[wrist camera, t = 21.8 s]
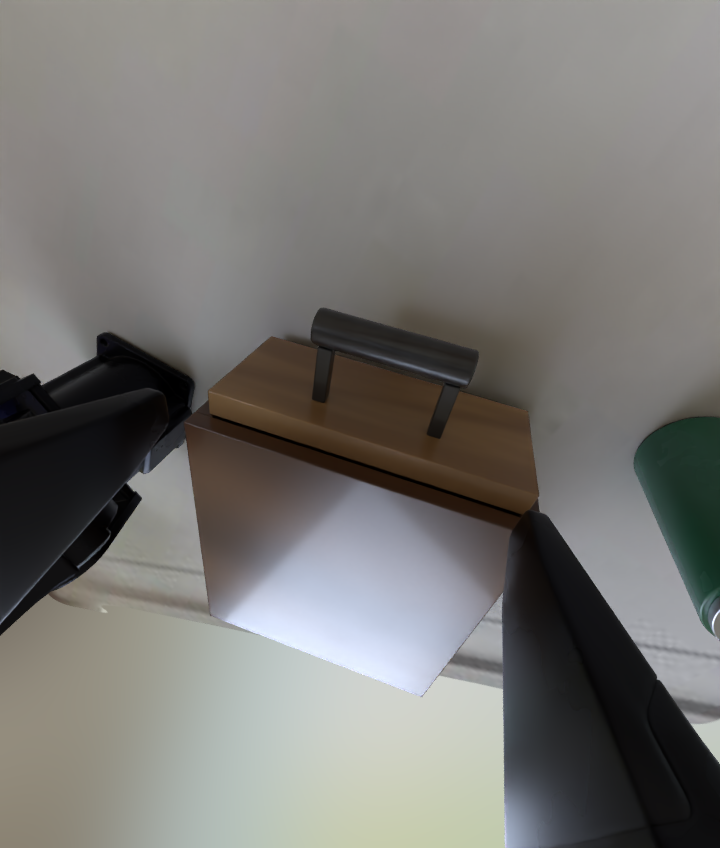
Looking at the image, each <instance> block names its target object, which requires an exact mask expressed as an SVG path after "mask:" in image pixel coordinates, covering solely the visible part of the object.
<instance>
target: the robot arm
mask: <svg viewBox="0 0 720 848" xmlns="http://www.w3.org/2000/svg"><path fill="white" fill-rule="evenodd" d="M40 383H41V382H40V380H39V379H38V378H37V377H36V376H35V375H34V373H33V374H31V375H29V376H26V377H24V378H22V379H20V378H19V377H18V376H15V375H13V374H11V373H9V372H7V371H4V370H1V371H0V635H1V634H2V633H3V632H5V631H6V630H7V629H8V628H9V627H10V626H11V625H12V624H13V623H14V622H15V621H16V620H18V619H19V618H20V617H21V616H22V615H23V614H24V613H25V612H26V611H28V610H29V609H30V608H31V607H32V606H33V605H34V604H35V603H37V602H38V601H39V600H40V599H42V598H43V597H44V596H46V595H47V594H48V593H49V592H51V591H54V590H57V589H59V588H61V587H63V586H65V585H67V584H69V583H70V582H72V581H73V580H75V579H76V578H78V577H79V576H80V575H82V574H83V573H84V572H86V571H87V570H88V569H89V568H90V567H91V566H93V565H94V564H95V563H96V562H97V561H98V560H99V559H100V558H101V557H102V555H103V554H104V553H105V552H106V550H107V549H108V548H109V546H110V545H111V543H112V542H113V540H114V539H115V537H116V536H117V534H118V533H119V532H120V530H121V529H122V527H123V526H124V524H125V523H126V521H127V520H128V518H129V517H130V516H131V514H132V513H133V511H134V510H135V508H136V507H137V505H138V504H139V503H140V501H141V500H142V498H141V496H140V495H139V494H138V493H137V492H136V491H135V492H134V491H133V490H132V489H131V488H130V486H129V485H128V484H127V482H128V481H129V480H130V479H131V478H132V477H133V476H134V475H136V474H137V473H138V472H141V473H143V474H146V473H149V472H150V471H151V470H152V469H153V468H155V467H156V466H157V465H158V464H159V463H160V462H161V461H162V460H163V459H164V458H165V457H166V456H167V455H168V454H169V453H170V452H171V451H172V450H173V449H174V448H179V447H180V446H181V445H182V444H183V442H184V439H185V438H186V434H185V427H184V421H186V420H187V419H188V418H189V417H190V416H191V415H192V412H191V409H190V407H191V402H192V397H193V392H194V387H195V385H194V382H193V381H192V379H190V378H189V377H187V376H186V375H184V374H182V373H180V372H178V371H177V370H175V369H173V368H171V367H169V366H167V365H166V364H164V363H162V362H160V361H158V360H157V359H155V358H153V357H151V356H149V355H147V354H146V353H144V352H142V351H140V350H138V349H137V348H135V347H133V346H131V345H129V344H127V343H126V342H124V341H122V340H120V339H118V338H117V337H115V336H113V335H111V334H109V333H107V332H104V333H102V334H100V335H98V336H97V356H96V357H94V358H92V359H91V360H89V361H87V362H85V363H83V364H81V365H79V366H77V367H76V368H74V369H72V370H70V371H68V372H66V373H64V374H62V375H61V376H59V377H57V378H55V379H53V380H51V381H49V382H47V383H45V384H44V385H42V386H41V385H40ZM185 384H186V385H187V386H186V385H185ZM502 636H503V717H504V718H503V720H504V794H505V795H504V803H505V848H720V764H719V762H718V761H717V760H716V758H715V757H714V756H713V754H712V753H711V752H710V750H709V749H708V748H707V746H706V745H705V744H704V743H703V741H702V740H701V738H700V737H699V736H698V734H697V733H696V731H695V730H694V728H693V727H692V726H691V724H690V723H689V721H688V720H687V718H686V717H685V716H684V714H683V713H682V711H681V710H680V709H679V707H678V706H677V704H676V703H675V701H674V700H673V698H672V697H671V696H670V694H669V693H668V691H667V690H666V688H665V687H664V685H663V684H662V682H661V681H660V680H656V679H657V675H656V674H655V672H654V671H653V669H652V668H651V666H650V665H649V664H648V662H647V661H646V659H645V658H644V656H643V655H642V653H641V652H640V650H639V649H638V647H637V646H636V644H635V643H634V642H633V640H632V639H631V637H630V636H629V634H628V633H627V631H626V630H625V628H624V627H623V625H622V624H621V622H620V621H619V620H618V618H617V617H616V615H615V614H614V612H613V611H612V609H611V608H610V606H609V605H608V603H607V602H606V600H605V599H604V598H603V596H602V595H601V593H600V592H599V590H598V589H597V587H596V586H595V584H594V583H593V581H592V580H591V578H590V577H589V576H588V574H587V573H586V571H585V570H584V568H583V567H582V565H581V564H580V562H579V561H578V559H577V558H576V557H575V555H574V554H573V552H572V551H571V549H570V548H569V546H568V545H567V543H566V542H565V540H564V539H563V537H562V536H561V535H560V533H559V532H558V530H557V529H556V527H555V526H554V524H553V523H552V521H551V520H550V518H549V517H548V516H547V515H545V514H543V513H540V512H537V511H533V510H527V511H525V513H524V514H523V515H522V517H521V518H520V520H519V521H518V523H517V524H516V526H515V527H514V529H513V530H512V532H511V535H510V538H509V545H508V554H507V563H506V573H505V582H504V591H503V602H502Z"/></svg>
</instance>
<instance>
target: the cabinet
mask: <svg viewBox="0 0 720 848" xmlns="http://www.w3.org/2000/svg"><path fill="white" fill-rule="evenodd" d="M241 426H242V424H240V423H237V422H234V421H231V420H228V419H225V418H222V417H219V416H216V415H212V414H210V410H209V400H208V401H207V402H206V403H205V404H204V405H202V406H201V407H200V408H199V409H198V410H197V411H196V412H194V413H193V414H192V415H191V416H190V417H189V418H188V419H187V420H186V421H184V427H185V434H186V441H187V449H188V456H189V463H190V471H191V478H192V485H193V493H194V500H195V508H196V515H197V522H198V530H199V537H200V544H201V552H202V559H203V566H204V574H205V581H206V588H207V596H208V603H209V610H210V616H213V617H215V618H218V619H221V620H223V621H226V622H228V623H231V624H234V625H236V626H239V627H241V628H244V629H246V630H249V631H252V632H254V633H257V634H259V635H262V636H265V637H267V638H270V639H272V640H275V641H278V642H280V643H283V644H285V645H288V646H291V647H293V648H296V649H298V650H301V651H304V652H306V653H309V654H312V655H314V656H316V657H319V658H322V659H324V660H327V661H329V662H332V663H335V664H337V665H340V666H342V667H345V668H347V669H350V670H353V671H355V672H358V673H360V674H363V675H366V676H368V677H371V678H374V679H376V680H379V681H381V682H384V683H386V684H389V685H392V686H394V687H397V688H399V689H402V690H404V691H407V692H410V693H412V694H415V695H417V696H420V697H422V696H423V695H424V694H425V692H426V691H427V690H428V688H429V687H430V686H431V685H432V683H433V682H434V681H435V679H436V678H437V677H438V676H439V674H440V673H441V672H442V670H443V669H444V668H445V667H446V665H447V664H448V663H449V661H450V660H451V659H452V657H453V656H454V655H455V654H456V652H457V651H458V650H459V648H460V647H461V646H462V644H463V643H464V642H465V641H466V639H467V638H468V637H469V635H470V634H471V633H472V632H473V630H474V629H475V628H476V626H477V625H478V624H479V622H480V621H481V620H482V619H483V617H484V616H485V615H486V613H487V612H488V611H489V610H490V608H491V607H492V606H493V604H494V603H495V602H496V600H497V599H498V598H499V597H500V595H501V594H502V593H503V591H504V582H505V573H506V563H507V554H508V545H509V538H510V535H511V532H512V530H513V529H514V527H515V526H516V524H517V523H518V521H519V520H520V518H521V517H522V514H519V513H516V512H513V511H510V510H506V509H503V508H500V507H497V506H494V509H493V508H490V507H487V506H484V505H481V504H478V503H475V502H472V501H468V500H465V499H462V498H459V497H456V496H453V495H450V494H447V493H444V492H441V491H438V490H435V489H431V488H428V487H425V486H422V485H419V484H416V483H413V482H410V481H407V480H404V479H401V478H397V477H394V476H391V475H388V474H385V473H382V472H379V471H376V470H373V469H370V468H367V467H364V466H360V465H357V464H354V463H351V462H348V461H345V460H342V459H339V458H336V457H333V456H330V455H327V454H323V453H320V452H317V451H314V450H311V449H308V448H305V447H302V446H299V445H296V444H293V443H290V442H286V441H283V440H280V439H277V438H274V437H271V436H268V435H265V434H262V433H259V432H256V431H252V430H249V429H246V428H243V427H241ZM530 510H533V511H537V512H539V504H538V498H537V500H536V501H535V503H534V504H533V506H532V507H531V508H530Z"/></svg>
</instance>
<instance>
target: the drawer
mask: <svg viewBox="0 0 720 848" xmlns="http://www.w3.org/2000/svg"><path fill="white" fill-rule="evenodd" d="M311 341H312V343H313V344H315V345H318V349H314V348H311V347H307V346H304V345H300V344H297V343H293V342H290V341H287V340H283V339H280V338H276V337H273V336H271V337H270V338H269V339H267V340H266V341H265V342H264V343H263V344H262V345H260V346H259V347H258V348H257V349H256V350H255V351H253V352H252V353H251V354H250V355H249V356H248V357H247V358H245V359H244V360H243V361H242V362H241V363H240V364H238V365H237V366H236V367H235V368H234V369H233V370H231V371H230V372H229V373H228V374H227V375H226V376H224V377H223V378H222V379H221V380H220V381H219V382H218V383H216V384H215V385H214V386H213V387H212V388H211V389H209V390H208V398H209V410H210V414H212V415H216V416H219V417H222V418H225V419H228V420H231V421H234V422H237V423H240V424H242V426H241V427H243V428H246V429H249V430H252V431H256V432H259V433H262V434H265V435H268V436H271V437H274V438H277V439H280V440H283V441H286V442H290V443H293V444H296V445H299V446H302V447H305V448H308V449H311V450H314V451H317V452H320V453H323V454H327V455H330V456H333V457H336V458H339V459H342V460H345V461H348V462H351V463H354V464H357V465H360V466H364V467H367V468H370V469H373V470H376V471H379V472H382V473H385V474H388V475H391V476H394V477H397V478H401V479H404V480H407V481H410V482H413V483H416V484H419V485H422V486H425V487H428V488H431V489H435V490H438V491H441V492H444V493H447V494H450V495H453V496H456V497H459V498H462V499H465V500H468V501H472V502H475V503H478V504H481V505H484V506H487V507H490V508H493V509H494V506H497V507H500V508H503V509H506V510H510V511H513V512H516V513H519V514H522V515H523V514H524V513H525V511H527V510H530V508H531V507H532V506H533V504H534V503H535V501H536V500H537V498H538V497H539V490H538V483H537V475H536V468H535V460H534V453H533V445H532V438H531V431H530V423H529V416H528V411H525V410H522V409H519V408H515V407H512V406H508V405H505V404H502V403H498V402H495V401H491V400H488V399H484V398H481V397H478V396H474V395H471V394H467V393H464V392H461V391H460V387H462V388H467V387H468V385H469V384H470V382H471V379H472V377H473V374H474V372H475V369H476V366H477V362H478V357H479V352H478V351H477V350H473V349H470V348H466V347H463V346H459V345H456V344H452V343H448V342H445V341H441V340H438V339H434V338H431V337H427V336H423V335H420V334H416V333H413V332H409V331H406V330H402V329H398V328H395V327H391V326H388V325H384V324H381V323H377V322H373V321H370V320H366V319H363V318H359V317H356V316H352V315H348V314H345V313H341V312H338V311H334V310H331V309H327V308H320V309H319V310H318V311H317V313H316V315H315V317H314V320H313V324H312V328H311ZM335 351H339V352H342V353H345V354H349V355H352V356H356V357H359V358H363V359H366V360H369V361H373V362H376V363H380V364H383V365H387V366H390V367H393V368H397V369H400V370H404V371H407V372H411V373H414V374H417V375H421V376H424V377H428V378H431V379H434V380H438V381H441V382H444V384H443V386H440V385H437V384H433V383H430V382H426V381H423V380H420V379H416V378H413V377H409V376H406V375H403V374H399V373H396V372H392V371H389V370H386V369H382V368H379V367H375V366H372V365H369V364H365V363H362V362H358V361H355V360H351V359H348V358H345V357H341V356H338V355H335Z"/></svg>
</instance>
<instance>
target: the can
mask: <svg viewBox="0 0 720 848" xmlns="http://www.w3.org/2000/svg"><path fill="white" fill-rule="evenodd" d="M634 469H635V472H636V475H637V477H638V479H639V482H640V484H641V486H642V488H643V491H644V493H645V495H646V498H647V500H648V502H649V504H650V507H651V509H652V511H653V514H654V516H655V518H656V520H657V523H658V525H659V527H660V529H661V532H662V534H663V536H664V539H665V541H666V543H667V545H668V548H669V550H670V552H671V555H672V557H673V559H674V561H675V564H676V566H677V568H678V570H679V573H680V575H681V577H682V580H683V582H684V584H685V586H686V589H687V591H688V593H689V596H690V598H691V600H692V602H693V605H694V607H695V609H696V612H697V614H698V616H699V618H700V621H701V622H702V624H703V626H704V627H705V628H706V629H707V630H708V631H709V632H710V633H711V634H712V635H714V636H715V637H716V638H717V639H718V640H719V641H720V418H718V417H696V418H689V419H684V420H680V421H677V422H674V423H671V424H669V425H666V426H664V427H662V428H660V429H659V430H657V431H655V432H654V433H652V434H651V435H650V436H649V437H647V438H646V439H645V440H644V441H643V442H642V444H641V445H640V446H639V448H638V450H637V452H636V454H635V457H634Z"/></svg>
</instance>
